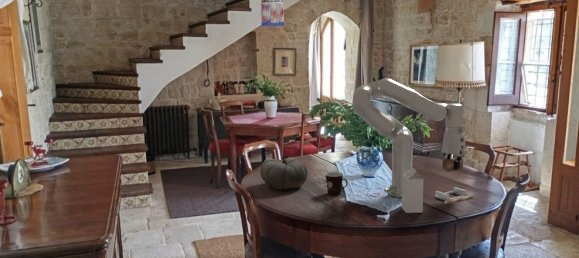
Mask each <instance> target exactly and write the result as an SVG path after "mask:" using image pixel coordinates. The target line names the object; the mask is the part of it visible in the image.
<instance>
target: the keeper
mask: <svg viewBox="0 0 579 258" xmlns="http://www.w3.org/2000/svg"><path fill="white" fill-rule="evenodd" d="M452 194H455V195H458V196H455V197H450V195H452ZM434 196H435V198H436V199H440V200H443V201H448V200H452V199H457V198H461V197H465V196H468V190H466V189H462V188H460V187H457V186H453V190H451V191H447V192H442V191H439V190H435V195H434Z"/></svg>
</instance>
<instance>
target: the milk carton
mask: <svg viewBox="0 0 579 258" xmlns="http://www.w3.org/2000/svg"><path fill="white" fill-rule="evenodd" d="M423 202H424V178H423V177H421V176H420V175H419V174H418V173H417V170H416V169H415V168H413V166H412V167H411V166H410V169H409V170H408V171H407V172H406V173H405V174H404V175H403V176H402V198H401V209H402V210H403V211H404V212H405V214H415V213H416V214H418V213H420V214H421V213H423V210H424V209H423V206H424V205H423Z"/></svg>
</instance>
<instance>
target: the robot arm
mask: <svg viewBox="0 0 579 258" xmlns="http://www.w3.org/2000/svg"><path fill="white" fill-rule="evenodd" d="M383 97H385V98H386V99H389V100H391V101H393V102H396V103H398V104H400V105H402V106H403V107H406V108H408V109H410V110H412V111H414V112H416V113H418V114H419V115H422V116H424V117H426V118H428V119H430V120H433V121H435V122H439V121H442V120H444V119H445V128H444V129H445V131H444V134H443V136H442V137H443V138H442V146H441V147H442V148H441V150H440V152H441V154H442V155H443V156H444V159H450V158H452V155H454V158H455V161H454V170H457V169H459V168H460V161H461V160H462V159H463V160H464V158H466V157H467V154H466V138H465V134H464V131H465V129H463V127H464V105H463V104H462V103H455V102H454V103H442V102H435V101H433V100H431V99H429V98H427V97H424V96H423V95H421V94H420V93H419V92H417V91H416V90H415V89H412V88H410V87H408V86H405V85H404V84H401V83H399V82H398V81H395V80H393V78H390V77H385V78H382V79H379V80H375V81H372V82H369V83H366V84H363V85H360V86H359V87H357V88H356V89H355V91H354V92H353V97H352V106H353V107H352V108H353V109H354V111H355V113H356V114H357V115H358V116H359V117H360V118H361V119H362V120H363V121H364V122H365V123H367V124H368V125H369V126H370V127H371V128H373V129H374V130H375V131H376V132H377V133H378V134H380V135H381V136H386V137H387V138H389V139H390V140H391V141H392V142H391V144H392V145H391V148H392V149H391V150H392V152H391V153H392V155H391V158H392V159H391V184H390V185H389V187H388V188H386V187H385V188H383V192H384V193H388V195H389V194H390V196H391V195H392V196H391V197H394V196H396V197H395V198H400V197H402V176H403V175H404V174H405V173H406V172H407V171H408V170H409V169H410V166H411V167H412V168H413V153H414V152H413V151H414V136H413V133H412V131H411V130H410V129H409V128H408V127H406V126H405V125H404V124H402V123H401V122H400V121H399V120H398V119H396V118H395V117H394V116H393V115H390V114H385V113H384V112H382V111H381V110H380V109H378V107H376V106H375V105H373V104H372V102H371V101H373V100H375V99H380V98H383ZM457 171H458V170H457Z"/></svg>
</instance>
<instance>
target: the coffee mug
mask: <svg viewBox="0 0 579 258" xmlns="http://www.w3.org/2000/svg"><path fill="white" fill-rule="evenodd" d="M325 179H326V181H325V182H326V188H327V195H329V196H332V197H333V196H334V197H335V196H340V195H342V190H343V189H345V188H346V187H348V180H347V178H344V173H342V172H339V171H330V172H326V173H325ZM343 181H345V185H344V186H343Z"/></svg>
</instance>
